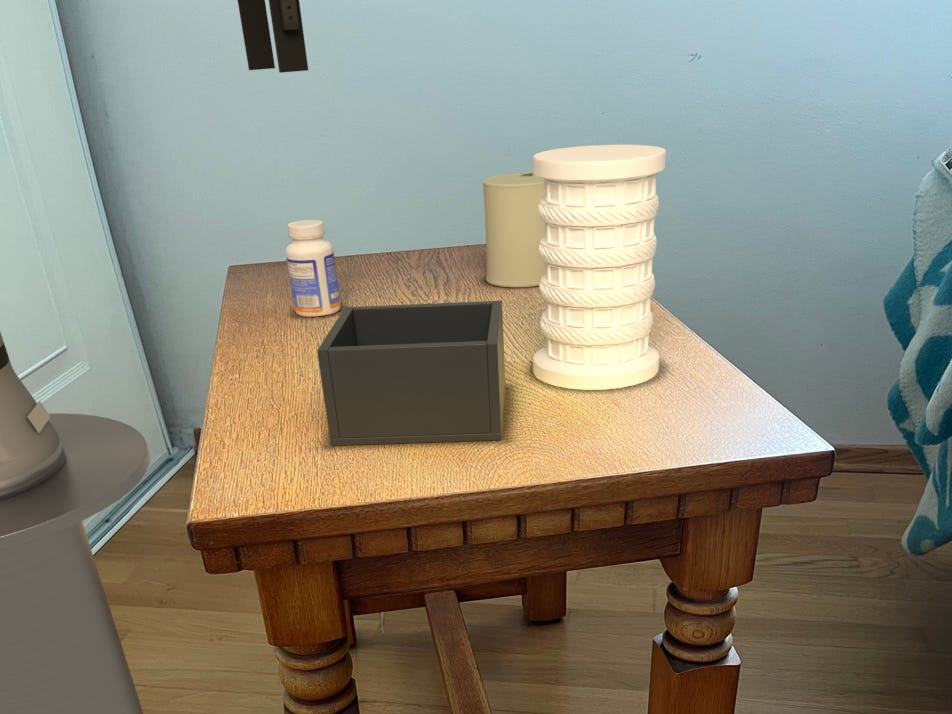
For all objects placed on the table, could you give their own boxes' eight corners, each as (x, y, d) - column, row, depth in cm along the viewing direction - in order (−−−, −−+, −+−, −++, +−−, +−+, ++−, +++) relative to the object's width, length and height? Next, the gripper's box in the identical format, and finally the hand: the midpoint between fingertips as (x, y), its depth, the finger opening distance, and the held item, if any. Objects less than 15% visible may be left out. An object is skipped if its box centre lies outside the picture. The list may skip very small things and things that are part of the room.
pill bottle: (328, 303, 114) (316, 216, 108) (349, 311, 110) (338, 221, 104) (287, 311, 111) (273, 223, 106) (307, 320, 107) (293, 229, 102)
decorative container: (669, 386, 82) (683, 157, 72) (537, 393, 82) (533, 166, 72) (647, 347, 92) (657, 140, 82) (529, 354, 92) (525, 148, 82)
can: (566, 271, 121) (566, 167, 114) (549, 288, 114) (548, 179, 107) (498, 269, 124) (494, 169, 117) (477, 286, 116) (471, 180, 110)
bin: (331, 445, 75) (316, 350, 70) (355, 393, 85) (344, 307, 81) (501, 440, 74) (497, 343, 70) (505, 387, 84) (502, 300, 80)
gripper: (313, -237, 76) (348, 69, 88) (247, -179, 95) (283, 65, 107) (221, -240, 73) (269, 75, 85) (172, -180, 93) (217, 70, 104)
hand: (277, 70), depth 96 cm, fingers open, 13 cm apart
